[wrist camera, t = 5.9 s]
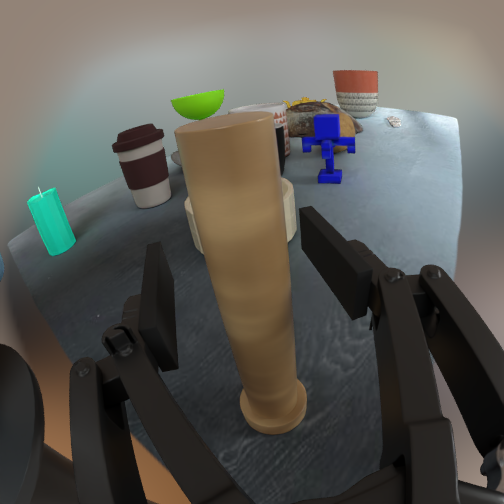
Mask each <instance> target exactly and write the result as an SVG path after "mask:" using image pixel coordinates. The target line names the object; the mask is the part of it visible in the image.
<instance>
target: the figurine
mask: <svg viewBox="0 0 504 504" xmlns="http://www.w3.org/2000/svg"><path fill="white" fill-rule="evenodd" d="M314 128H315V137H302V147H303V152H311V151H312V150H311V145H321V147H322V159H326V169H321V170H320V172H319V175H318V183H336V184H340V183H341V179H342V170H338V169H334V155H333V147H335V146H347V151H348V153H355V137H340V121H339V114H316V115H315V116H314Z"/></svg>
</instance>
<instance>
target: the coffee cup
mask: <svg viewBox="0 0 504 504" xmlns="http://www.w3.org/2000/svg"><path fill="white" fill-rule="evenodd" d="M163 137H164V133H163V130H162V129H156V128H155V126H154V125H153V124H146V125H142V126H138V127H135V128H132V129H129V130H126V131H123V132H121V133H119V134H118V137H117V142H115V143H114V144H113V145H112V148H113V152H114V153H117V154H118V156H119V160H120V161H119V163H120V166H121V168H122V171H123V174H124V177H125V180H126V182H127V185H128V187H129V189H130V190H131V192H132V195H133V197H134V200H135V203H136V205H137V206H138V207H139V208H151V207H155V206H157V205H160V204H162V203H164V202H166V201H167V200H168V199H169V198H170V197H171V190H170V185H169V179H168V176H169V173H168V167H167V162H166V156H165V149H164V147H163V145H162V138H163Z"/></svg>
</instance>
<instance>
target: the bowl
mask: <svg viewBox="0 0 504 504" xmlns="http://www.w3.org/2000/svg"><path fill="white" fill-rule="evenodd" d="M281 182H282V192H283V201H284V211H285V221H286V232H287V242H289V241H290V240H291V239H292V238H293V236H294V234H295V232H296V230H297V227H296V214H295V201H294V190H293V185H292V183H291V182H289V181H288V180H287V179H285V178H282V177H281ZM184 204H185V210H186V214H187V218H188V222H189V226H190V229H191V233H192V237H193V240H194V244H195V247H196V248H197V249H198V250H199V251H200V252H201V253H202V254H204V253H203V249H202V246H201V242H200V238H199V234H198V230H197V226H196V222H195V219H194V215H193V211H192V207H191V203H190V198H189V196H188V197H187V199H186V201H185V202H184Z"/></svg>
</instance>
